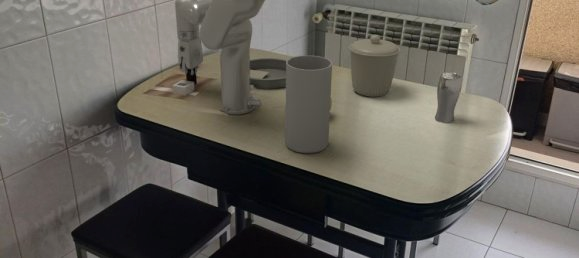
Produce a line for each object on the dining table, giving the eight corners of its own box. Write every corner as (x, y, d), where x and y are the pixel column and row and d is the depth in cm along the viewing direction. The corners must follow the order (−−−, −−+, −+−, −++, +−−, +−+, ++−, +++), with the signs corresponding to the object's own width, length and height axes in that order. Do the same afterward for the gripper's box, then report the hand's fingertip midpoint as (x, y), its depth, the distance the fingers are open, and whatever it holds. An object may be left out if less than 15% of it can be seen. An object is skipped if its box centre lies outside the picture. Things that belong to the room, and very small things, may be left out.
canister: (335, 90, 196) (338, 33, 187) (368, 79, 207) (372, 25, 198) (373, 105, 184) (378, 45, 175) (406, 92, 195) (412, 36, 186)
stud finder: (194, 89, 191) (193, 81, 189) (185, 95, 186) (185, 87, 184) (182, 87, 192) (181, 79, 191) (173, 93, 187) (172, 85, 186)
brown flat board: (217, 82, 202) (217, 78, 201) (189, 104, 183) (189, 100, 182) (174, 76, 207) (174, 73, 206) (143, 97, 188) (142, 93, 187)
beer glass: (440, 124, 171) (446, 80, 164) (429, 116, 177) (435, 72, 170) (459, 122, 172) (466, 78, 166) (448, 114, 178) (454, 71, 172)
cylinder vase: (329, 136, 162) (333, 56, 151) (326, 156, 151) (330, 71, 140) (288, 133, 164) (289, 54, 153) (282, 152, 152) (282, 68, 142)
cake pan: (255, 64, 222) (255, 54, 220) (310, 74, 212) (310, 63, 210) (222, 83, 202) (222, 72, 200) (281, 95, 192) (281, 83, 190)
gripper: (187, 41, 177) (191, 92, 185) (208, 29, 190) (210, 78, 198) (167, 38, 179) (171, 90, 187) (189, 27, 192) (192, 76, 200)
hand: (191, 84), depth 192 cm, fingers closed
